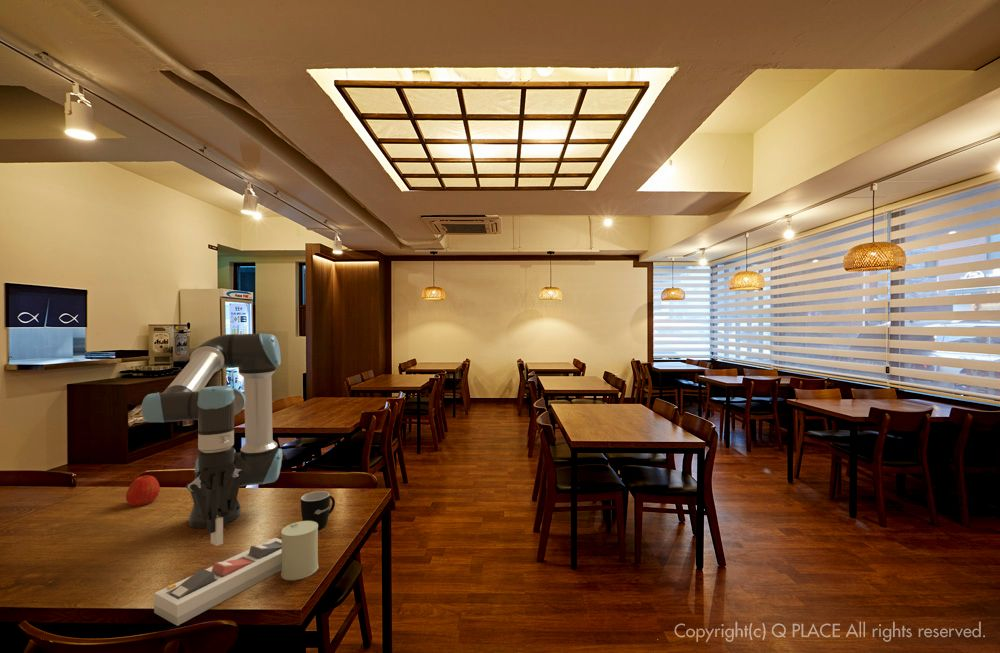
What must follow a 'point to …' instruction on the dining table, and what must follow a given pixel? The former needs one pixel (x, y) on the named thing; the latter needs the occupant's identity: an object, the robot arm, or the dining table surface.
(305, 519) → the mug
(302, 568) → the can
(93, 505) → the dining table surface
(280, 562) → the strip
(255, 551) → the rocker
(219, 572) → the rocker mid
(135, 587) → the dining table surface
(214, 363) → the robot arm
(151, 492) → the apple
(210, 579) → the rocker
